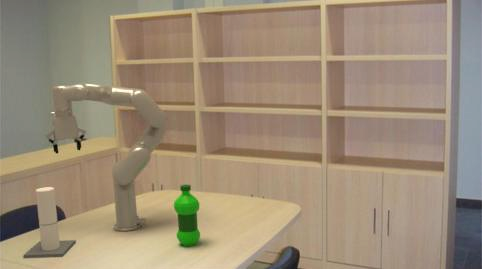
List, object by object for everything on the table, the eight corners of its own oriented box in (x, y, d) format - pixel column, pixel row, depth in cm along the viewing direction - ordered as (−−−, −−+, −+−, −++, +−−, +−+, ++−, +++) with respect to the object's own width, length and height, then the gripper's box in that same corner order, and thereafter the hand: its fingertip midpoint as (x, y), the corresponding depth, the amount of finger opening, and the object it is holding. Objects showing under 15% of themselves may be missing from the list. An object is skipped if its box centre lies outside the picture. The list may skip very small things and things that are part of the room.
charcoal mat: (75, 242, 231) (75, 240, 231) (62, 256, 215) (62, 253, 215) (39, 243, 231) (39, 241, 231) (23, 257, 216) (23, 255, 215)
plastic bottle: (178, 240, 228) (174, 183, 225) (202, 239, 228) (199, 182, 224) (174, 248, 218) (170, 189, 215) (200, 247, 218) (196, 188, 214)
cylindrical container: (57, 243, 228) (51, 186, 224) (62, 247, 222) (56, 189, 218) (39, 247, 224) (33, 189, 220) (44, 251, 218) (38, 192, 214)
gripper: (45, 116, 228) (49, 155, 230) (85, 111, 236) (89, 149, 239) (41, 115, 234) (46, 153, 237) (81, 110, 243) (85, 147, 245)
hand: (67, 151), depth 238 cm, fingers open, 9 cm apart
